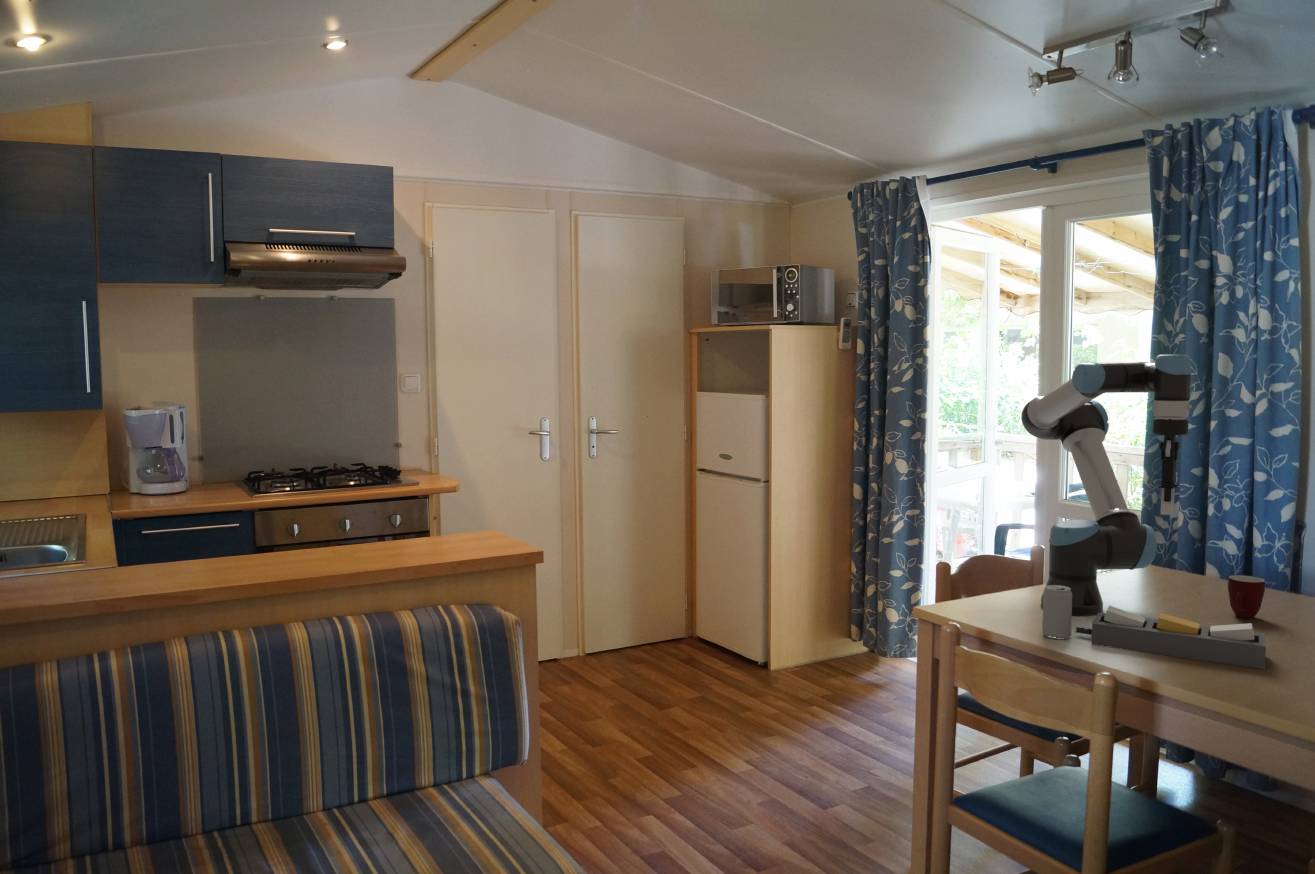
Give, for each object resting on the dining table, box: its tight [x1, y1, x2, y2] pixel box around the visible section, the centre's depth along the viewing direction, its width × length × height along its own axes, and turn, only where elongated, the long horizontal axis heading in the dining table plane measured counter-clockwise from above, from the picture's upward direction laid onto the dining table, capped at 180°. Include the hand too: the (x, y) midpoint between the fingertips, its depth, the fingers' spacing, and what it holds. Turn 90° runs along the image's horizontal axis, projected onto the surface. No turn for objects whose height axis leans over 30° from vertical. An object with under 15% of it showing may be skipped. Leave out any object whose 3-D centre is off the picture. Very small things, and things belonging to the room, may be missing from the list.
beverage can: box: [1041, 585, 1073, 639], centre depth 224 cm, size 6×6×12 cm
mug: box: [1227, 574, 1266, 620], centre depth 240 cm, size 11×8×10 cm
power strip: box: [1075, 612, 1267, 670], centre depth 215 cm, size 38×11×5 cm, turn 58°
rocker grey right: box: [1210, 622, 1255, 640], centre depth 208 cm, size 8×5×2 cm, turn 58°
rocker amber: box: [1156, 612, 1200, 634], centre depth 214 cm, size 8×5×2 cm, turn 58°
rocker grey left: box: [1104, 605, 1146, 627], centre depth 219 cm, size 8×5×2 cm, turn 58°
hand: (1167, 514), depth 229 cm, fingers closed
